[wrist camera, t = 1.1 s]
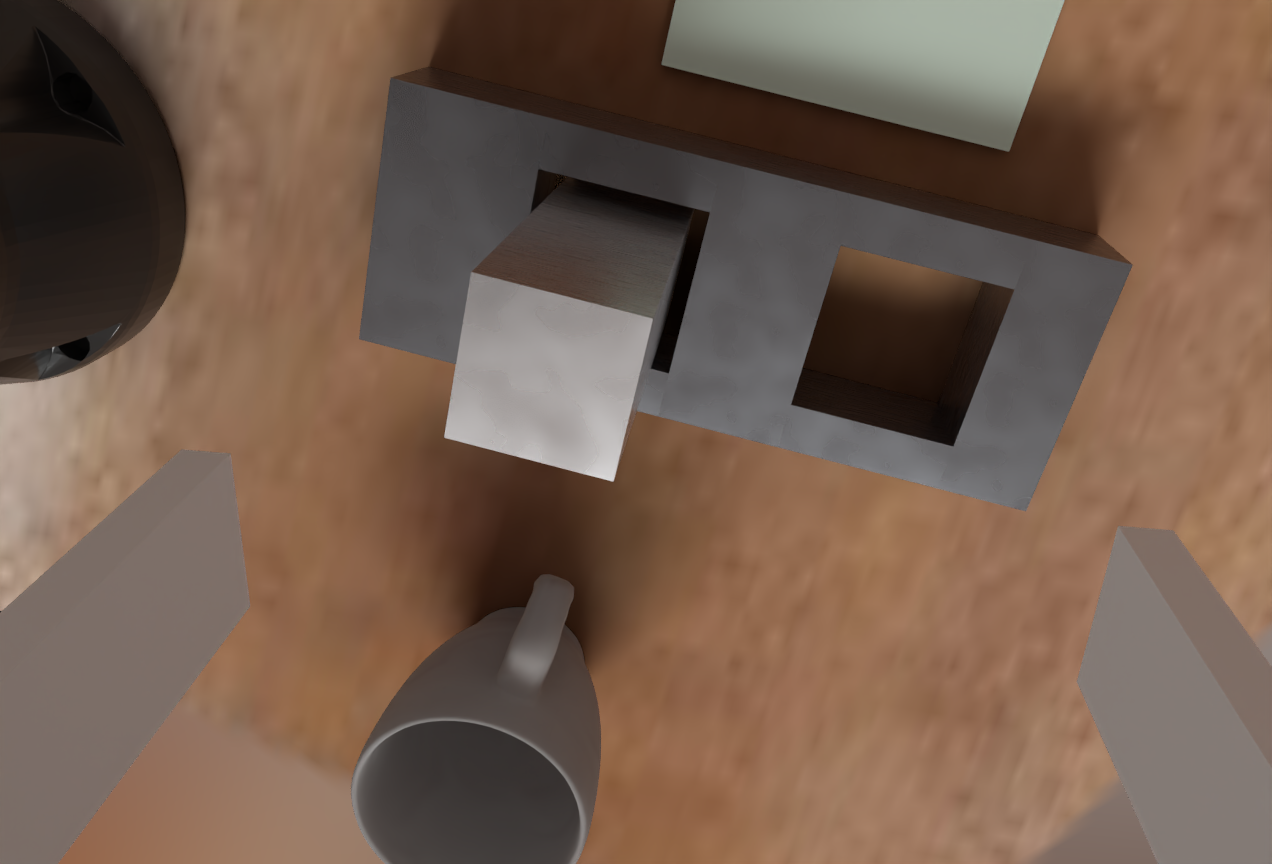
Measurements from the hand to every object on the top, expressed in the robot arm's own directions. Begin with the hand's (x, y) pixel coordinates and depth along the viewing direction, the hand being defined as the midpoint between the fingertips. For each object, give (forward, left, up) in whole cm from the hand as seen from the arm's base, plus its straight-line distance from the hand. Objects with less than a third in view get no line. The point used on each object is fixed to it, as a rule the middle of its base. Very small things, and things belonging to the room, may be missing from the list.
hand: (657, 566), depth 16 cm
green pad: (+2, +8, -25) cm, 26 cm away
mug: (-4, -20, -25) cm, 32 cm away
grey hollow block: (0, -2, -25) cm, 25 cm away
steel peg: (-4, -2, -25) cm, 25 cm away
